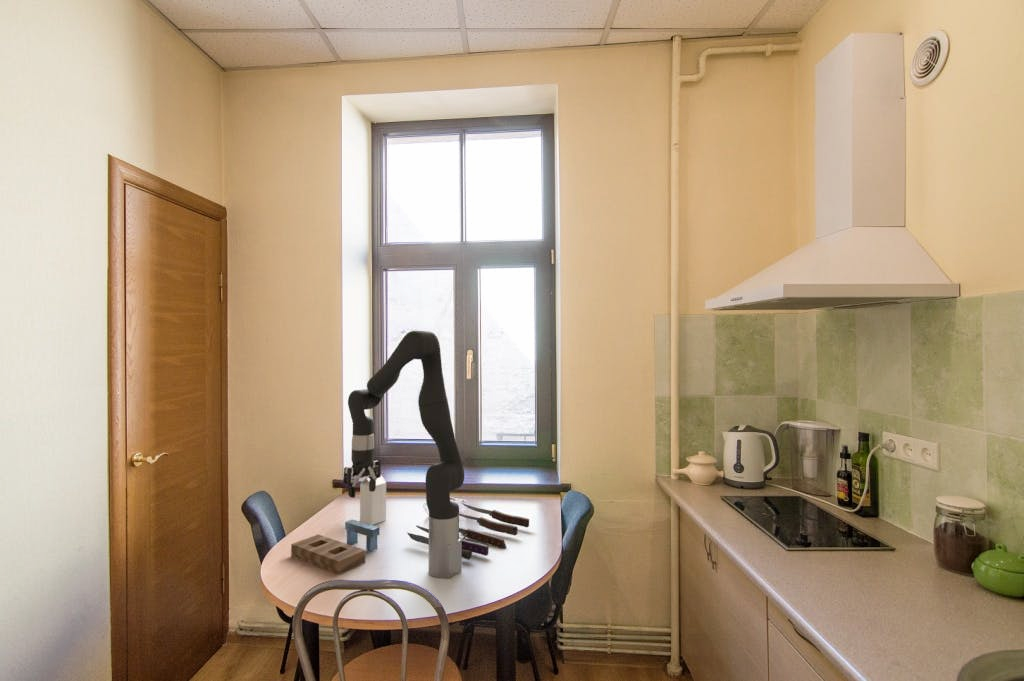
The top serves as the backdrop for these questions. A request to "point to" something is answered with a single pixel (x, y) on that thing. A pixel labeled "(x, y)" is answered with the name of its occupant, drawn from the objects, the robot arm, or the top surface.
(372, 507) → the milk carton
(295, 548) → the socket block
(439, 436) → the robot arm
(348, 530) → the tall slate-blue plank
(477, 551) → the knife set
